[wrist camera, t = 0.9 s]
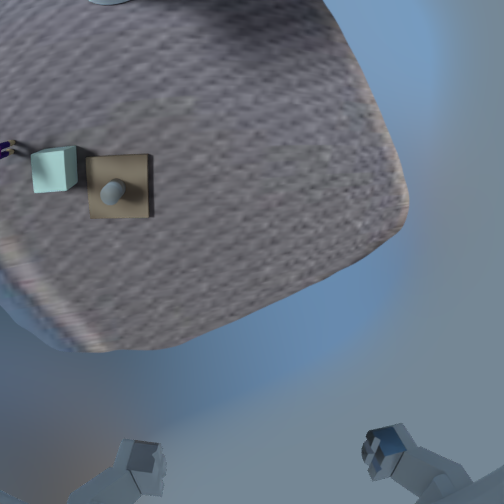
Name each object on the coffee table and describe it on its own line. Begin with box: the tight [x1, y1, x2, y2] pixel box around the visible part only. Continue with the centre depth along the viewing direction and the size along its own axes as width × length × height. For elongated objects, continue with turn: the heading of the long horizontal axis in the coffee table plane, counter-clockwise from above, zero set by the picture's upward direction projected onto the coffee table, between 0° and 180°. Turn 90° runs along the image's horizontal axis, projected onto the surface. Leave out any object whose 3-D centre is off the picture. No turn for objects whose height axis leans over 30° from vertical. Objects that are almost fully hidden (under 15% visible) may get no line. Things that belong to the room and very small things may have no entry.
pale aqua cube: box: [31, 145, 78, 193], centre depth 39 cm, size 6×6×5 cm
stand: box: [86, 154, 149, 219], centre depth 42 cm, size 10×10×5 cm
